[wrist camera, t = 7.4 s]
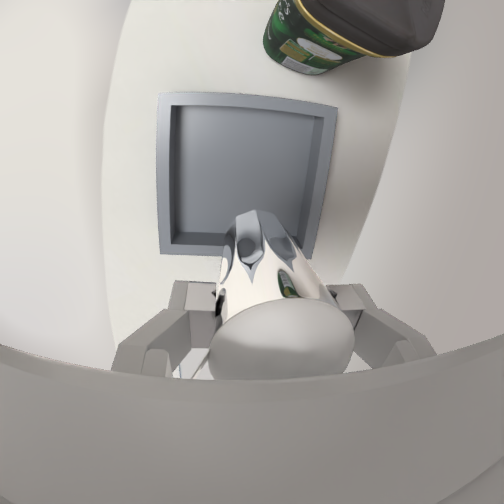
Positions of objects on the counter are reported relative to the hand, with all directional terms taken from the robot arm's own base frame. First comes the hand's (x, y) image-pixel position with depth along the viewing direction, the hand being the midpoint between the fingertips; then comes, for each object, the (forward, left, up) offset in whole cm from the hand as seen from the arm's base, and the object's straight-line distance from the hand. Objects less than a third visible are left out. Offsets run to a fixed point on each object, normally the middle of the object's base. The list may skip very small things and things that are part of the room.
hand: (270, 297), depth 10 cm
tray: (0, 0, -21) cm, 21 cm away
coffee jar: (-16, +5, -21) cm, 27 cm away
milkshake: (0, 0, -5) cm, 5 cm away
